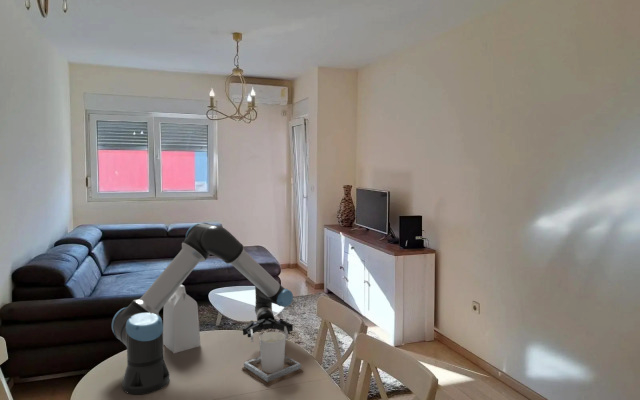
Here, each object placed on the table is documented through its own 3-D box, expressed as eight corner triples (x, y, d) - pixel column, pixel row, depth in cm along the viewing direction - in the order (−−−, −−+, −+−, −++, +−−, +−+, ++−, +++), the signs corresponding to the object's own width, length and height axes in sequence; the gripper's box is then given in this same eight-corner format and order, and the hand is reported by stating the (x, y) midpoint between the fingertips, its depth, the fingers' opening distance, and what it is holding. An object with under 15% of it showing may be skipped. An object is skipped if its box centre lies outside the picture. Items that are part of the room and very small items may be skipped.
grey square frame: (267, 382, 146) (267, 377, 146) (244, 367, 157) (243, 362, 157) (300, 368, 156) (300, 363, 156) (276, 355, 167) (276, 350, 167)
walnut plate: (267, 386, 145) (267, 383, 145) (242, 370, 157) (242, 367, 157) (302, 371, 156) (302, 368, 156) (277, 357, 168) (276, 354, 167)
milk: (200, 345, 179) (199, 285, 177) (174, 353, 171) (172, 290, 169) (188, 337, 188) (187, 279, 186) (162, 344, 180) (161, 284, 178)
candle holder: (285, 374, 151) (284, 342, 150) (257, 374, 151) (257, 342, 150) (286, 362, 161) (286, 331, 160) (261, 362, 161) (260, 331, 160)
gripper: (293, 324, 188) (301, 343, 168) (236, 328, 183) (237, 349, 162) (293, 308, 188) (301, 325, 167) (236, 312, 183) (237, 330, 162)
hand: (269, 337), depth 165 cm, fingers open, 13 cm apart
